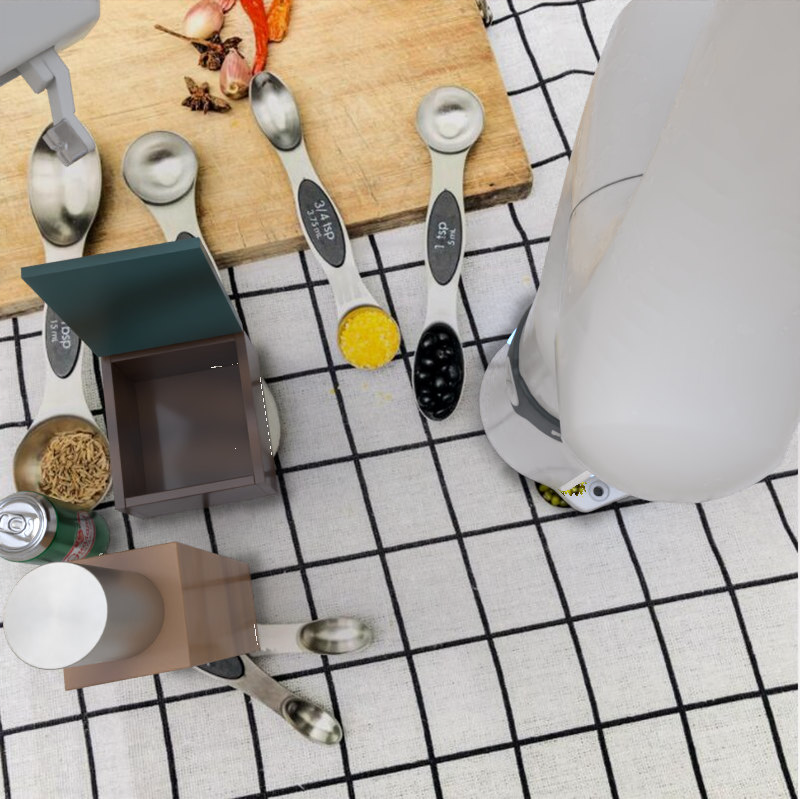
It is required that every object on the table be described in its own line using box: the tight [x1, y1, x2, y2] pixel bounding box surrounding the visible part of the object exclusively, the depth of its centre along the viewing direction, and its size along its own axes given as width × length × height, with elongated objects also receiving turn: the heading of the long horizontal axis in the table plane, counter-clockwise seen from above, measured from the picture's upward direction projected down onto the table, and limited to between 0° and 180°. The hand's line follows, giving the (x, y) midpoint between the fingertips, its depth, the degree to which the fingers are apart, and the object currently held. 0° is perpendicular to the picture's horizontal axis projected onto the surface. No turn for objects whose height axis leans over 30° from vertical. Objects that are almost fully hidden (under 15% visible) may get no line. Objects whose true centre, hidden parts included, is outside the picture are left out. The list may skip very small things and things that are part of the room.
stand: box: [62, 541, 261, 692], centre depth 57 cm, size 7×7×22 cm
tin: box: [2, 561, 164, 671], centre depth 42 cm, size 5×5×9 cm
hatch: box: [20, 236, 244, 358], centre depth 60 cm, size 13×12×1 cm
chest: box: [99, 329, 280, 520], centre depth 68 cm, size 13×12×7 cm
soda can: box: [0, 490, 110, 566], centre depth 64 cm, size 5×5×12 cm
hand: (1, 209), depth 39 cm, fingers open, 8 cm apart
